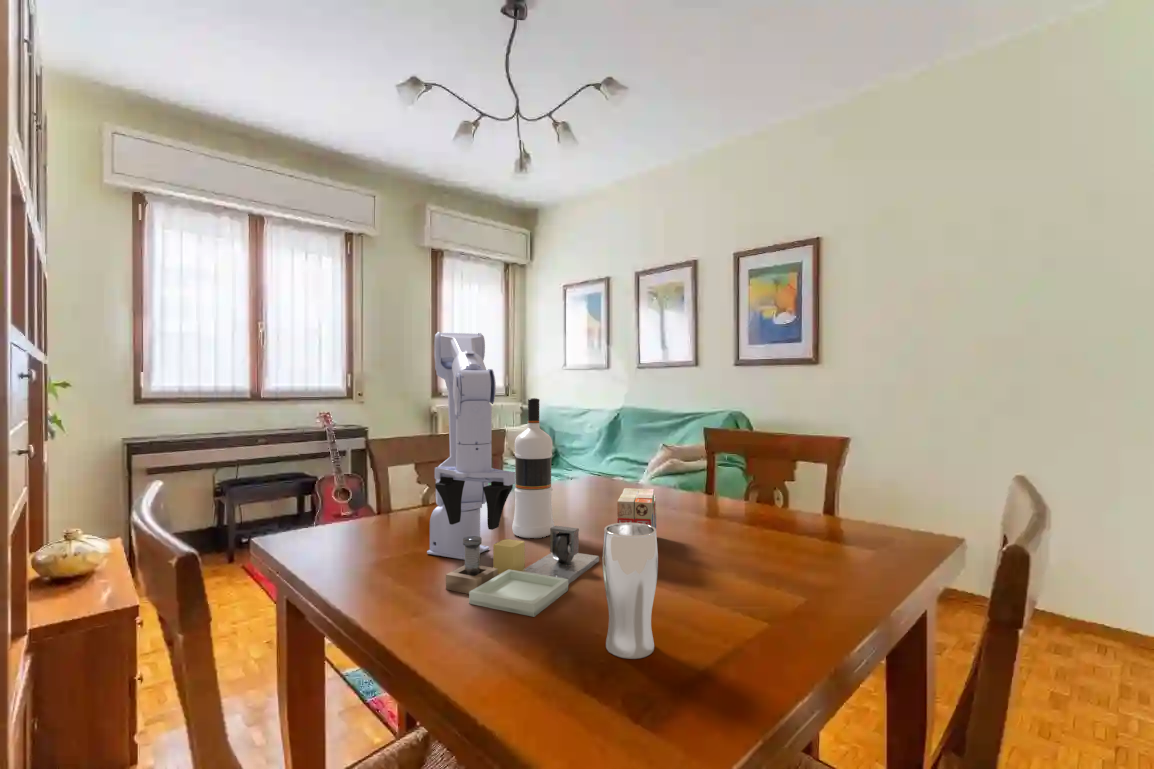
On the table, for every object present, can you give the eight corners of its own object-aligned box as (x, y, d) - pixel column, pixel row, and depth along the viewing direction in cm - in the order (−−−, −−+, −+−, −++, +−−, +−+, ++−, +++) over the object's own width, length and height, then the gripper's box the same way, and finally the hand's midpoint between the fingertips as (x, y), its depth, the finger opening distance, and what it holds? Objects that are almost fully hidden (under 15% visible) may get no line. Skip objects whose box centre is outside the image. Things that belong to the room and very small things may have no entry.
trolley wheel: (515, 579, 94) (515, 538, 94) (556, 555, 107) (556, 518, 107) (563, 588, 90) (563, 545, 90) (598, 561, 104) (599, 524, 104)
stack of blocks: (627, 535, 122) (628, 479, 122) (656, 537, 121) (656, 480, 121) (616, 567, 101) (616, 500, 101) (651, 569, 100) (651, 501, 100)
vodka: (524, 541, 116) (525, 399, 116) (505, 532, 124) (505, 398, 124) (562, 535, 121) (562, 398, 121) (541, 526, 129) (541, 397, 129)
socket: (445, 589, 90) (445, 574, 90) (468, 577, 95) (468, 563, 95) (476, 595, 87) (476, 580, 87) (497, 582, 92) (497, 568, 92)
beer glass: (599, 635, 73) (599, 522, 73) (651, 633, 74) (651, 521, 74) (606, 662, 66) (606, 537, 66) (663, 660, 67) (664, 535, 67)
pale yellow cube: (493, 572, 98) (493, 544, 98) (505, 566, 101) (505, 538, 101) (512, 576, 96) (512, 547, 96) (524, 569, 99) (524, 541, 99)
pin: (459, 587, 90) (459, 539, 90) (470, 581, 93) (470, 535, 93) (474, 590, 89) (474, 542, 89) (485, 584, 92) (485, 537, 92)
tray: (469, 603, 84) (469, 591, 84) (508, 579, 94) (508, 569, 94) (534, 616, 79) (534, 604, 79) (568, 590, 89) (568, 579, 89)
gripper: (422, 443, 90) (422, 526, 90) (498, 447, 84) (498, 536, 84) (449, 439, 97) (449, 517, 97) (521, 443, 91) (521, 525, 91)
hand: (473, 525), depth 91 cm, fingers open, 7 cm apart
